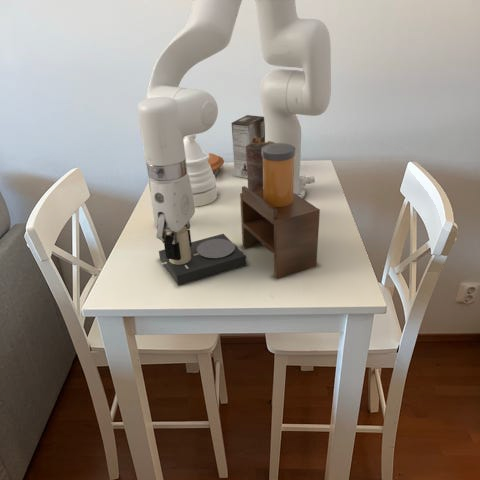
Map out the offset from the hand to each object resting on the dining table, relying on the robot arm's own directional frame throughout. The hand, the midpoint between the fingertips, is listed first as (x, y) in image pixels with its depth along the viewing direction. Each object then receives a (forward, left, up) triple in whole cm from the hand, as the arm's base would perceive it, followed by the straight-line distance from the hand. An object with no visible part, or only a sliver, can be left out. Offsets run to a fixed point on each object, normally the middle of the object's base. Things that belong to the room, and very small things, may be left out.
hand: (179, 251), depth 100 cm
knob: (0, 0, -2) cm, 2 cm away
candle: (-26, -10, -5) cm, 28 cm away
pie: (-25, -51, -5) cm, 57 cm away
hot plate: (-5, 0, -4) cm, 7 cm away
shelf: (-21, +6, -4) cm, 22 cm away
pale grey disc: (-8, 0, -2) cm, 9 cm away
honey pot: (-17, -35, -5) cm, 39 cm away
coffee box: (-39, -43, -5) cm, 58 cm away
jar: (-21, +6, +9) cm, 23 cm away
